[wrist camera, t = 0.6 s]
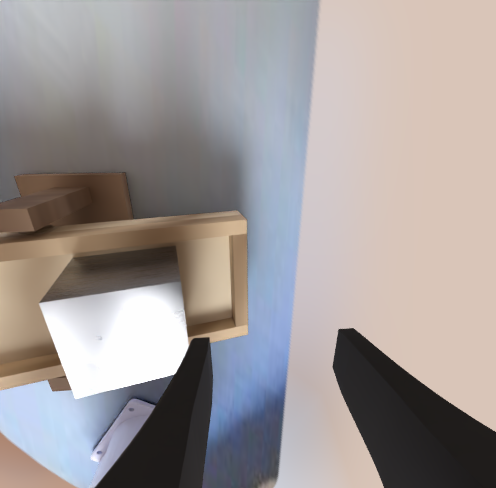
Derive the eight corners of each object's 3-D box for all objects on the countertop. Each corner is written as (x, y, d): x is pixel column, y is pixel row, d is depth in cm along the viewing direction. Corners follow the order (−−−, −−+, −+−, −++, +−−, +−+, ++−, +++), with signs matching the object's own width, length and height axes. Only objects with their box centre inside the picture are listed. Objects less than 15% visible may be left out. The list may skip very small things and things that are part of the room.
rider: (175, 245, 14) (180, 280, 11) (185, 319, 16) (191, 370, 13) (72, 257, 13) (38, 303, 9) (96, 336, 15) (75, 399, 11)
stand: (125, 172, 16) (72, 190, 11) (153, 326, 21) (127, 394, 15) (23, 174, 16) (-86, 193, 10) (75, 330, 20) (19, 402, 15)
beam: (235, 208, 16) (246, 219, 14) (238, 311, 19) (248, 334, 17) (-253, 250, 10) (-361, 279, 8) (-140, 387, 13) (-198, 434, 11)
